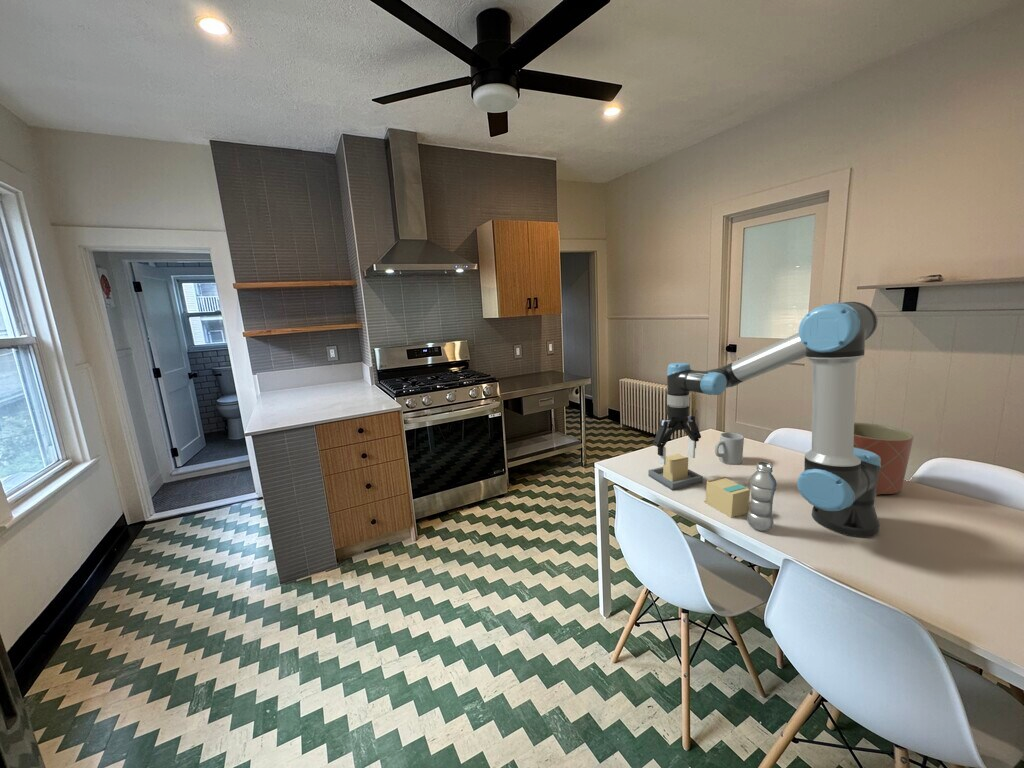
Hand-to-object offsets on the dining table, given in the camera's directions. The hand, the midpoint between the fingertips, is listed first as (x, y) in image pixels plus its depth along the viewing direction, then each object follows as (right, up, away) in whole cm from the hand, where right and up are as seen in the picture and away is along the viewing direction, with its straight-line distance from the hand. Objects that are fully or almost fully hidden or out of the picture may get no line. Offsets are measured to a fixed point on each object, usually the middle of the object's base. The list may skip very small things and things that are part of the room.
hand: (676, 460), depth 145 cm
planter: (+63, -7, -9) cm, 64 cm away
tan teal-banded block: (+8, -12, -19) cm, 24 cm away
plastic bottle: (+11, -14, -30) cm, 35 cm away
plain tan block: (0, -7, +2) cm, 7 cm away
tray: (0, -8, +2) cm, 8 cm away
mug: (+27, -4, +16) cm, 32 cm away
